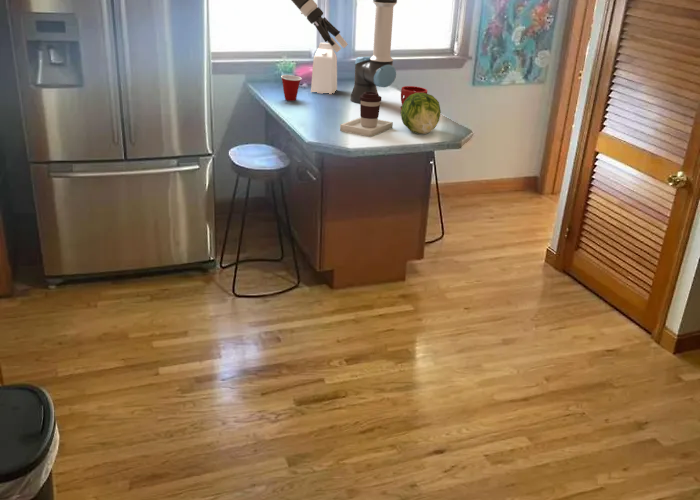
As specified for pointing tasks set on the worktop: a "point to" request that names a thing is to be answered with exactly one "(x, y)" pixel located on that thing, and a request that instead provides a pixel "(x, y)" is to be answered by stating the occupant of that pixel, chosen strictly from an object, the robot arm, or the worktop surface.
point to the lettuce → (420, 113)
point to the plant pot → (410, 92)
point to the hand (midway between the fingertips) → (342, 48)
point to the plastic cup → (290, 86)
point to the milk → (324, 70)
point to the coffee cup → (369, 109)
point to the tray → (357, 128)
